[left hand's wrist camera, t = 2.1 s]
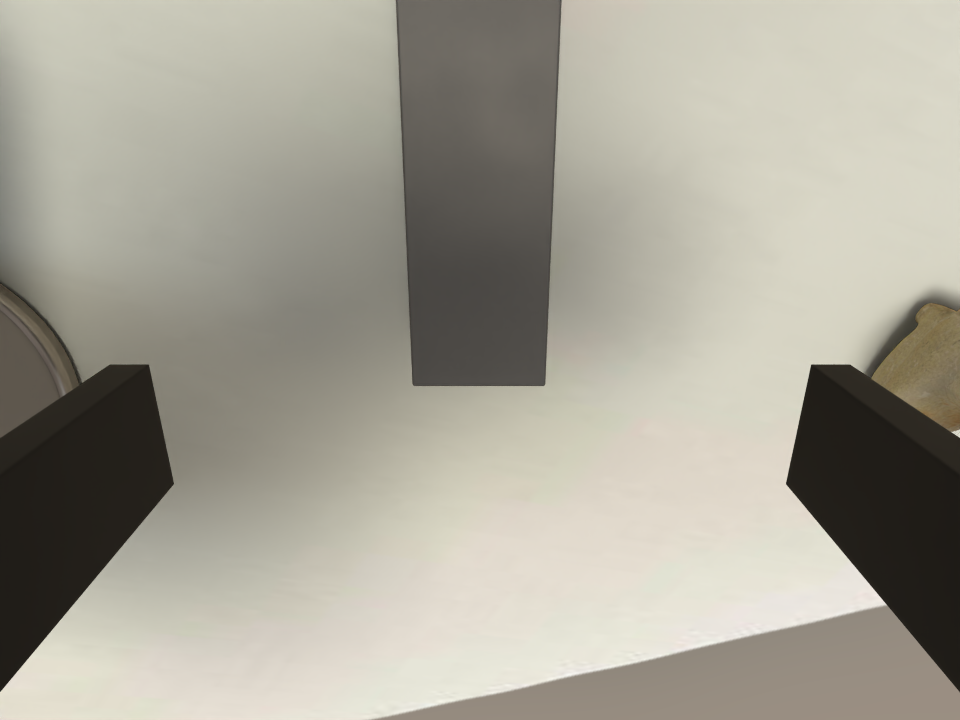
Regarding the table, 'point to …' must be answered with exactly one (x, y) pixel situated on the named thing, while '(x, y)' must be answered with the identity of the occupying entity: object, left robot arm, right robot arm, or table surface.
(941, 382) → the sculpture
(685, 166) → the table surface
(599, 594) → the table surface
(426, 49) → the bar
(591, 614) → the table surface
